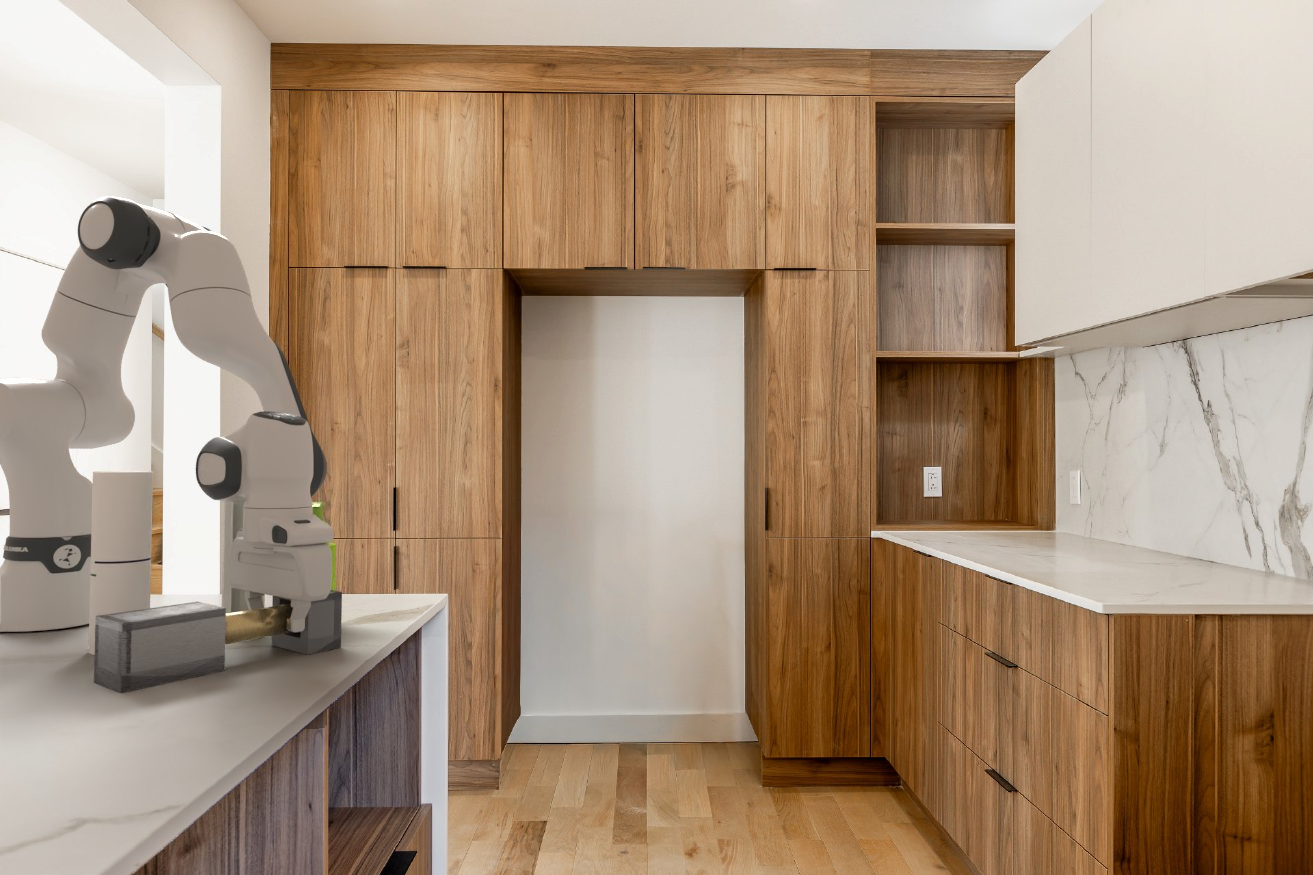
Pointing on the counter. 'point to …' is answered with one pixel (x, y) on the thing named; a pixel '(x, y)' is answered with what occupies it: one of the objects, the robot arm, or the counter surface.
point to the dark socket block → (314, 626)
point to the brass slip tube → (257, 623)
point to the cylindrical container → (120, 544)
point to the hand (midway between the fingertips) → (276, 626)
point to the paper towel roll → (231, 525)
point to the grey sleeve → (159, 645)
